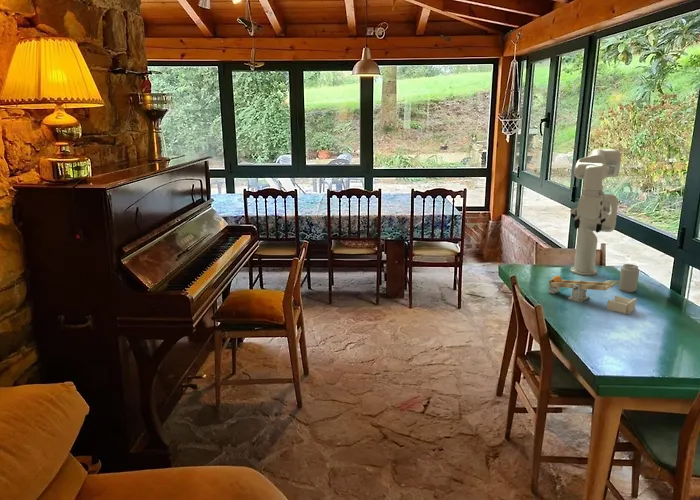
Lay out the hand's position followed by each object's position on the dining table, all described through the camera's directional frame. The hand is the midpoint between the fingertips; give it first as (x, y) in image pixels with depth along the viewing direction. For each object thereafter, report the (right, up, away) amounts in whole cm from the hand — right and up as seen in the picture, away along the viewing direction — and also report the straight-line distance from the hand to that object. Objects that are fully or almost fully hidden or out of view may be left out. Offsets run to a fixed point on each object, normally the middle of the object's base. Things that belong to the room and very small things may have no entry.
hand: (587, 230), depth 241 cm
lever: (-4, -25, -5) cm, 25 cm away
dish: (+6, -34, -18) cm, 39 cm away
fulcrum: (-10, -30, -2) cm, 32 cm away
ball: (-14, -23, 0) cm, 26 cm away
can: (+21, -28, +4) cm, 35 cm away
